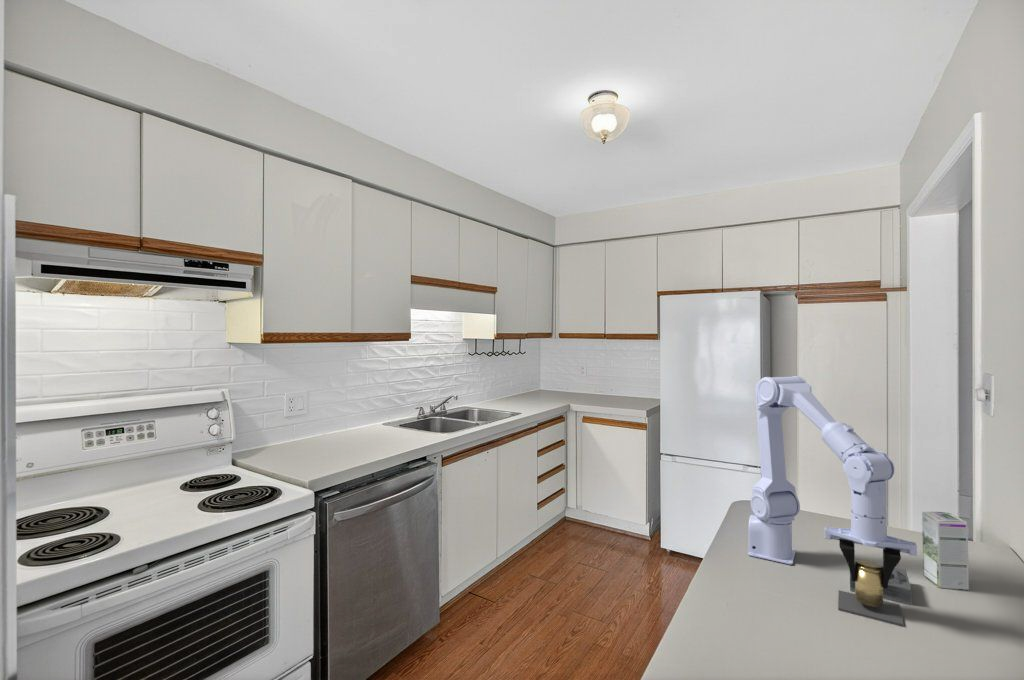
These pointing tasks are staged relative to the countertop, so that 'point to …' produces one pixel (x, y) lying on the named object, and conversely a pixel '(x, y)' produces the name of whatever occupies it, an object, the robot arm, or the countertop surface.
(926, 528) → the syrup box
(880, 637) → the countertop surface
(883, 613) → the rubber mat
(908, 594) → the housing
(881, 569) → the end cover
